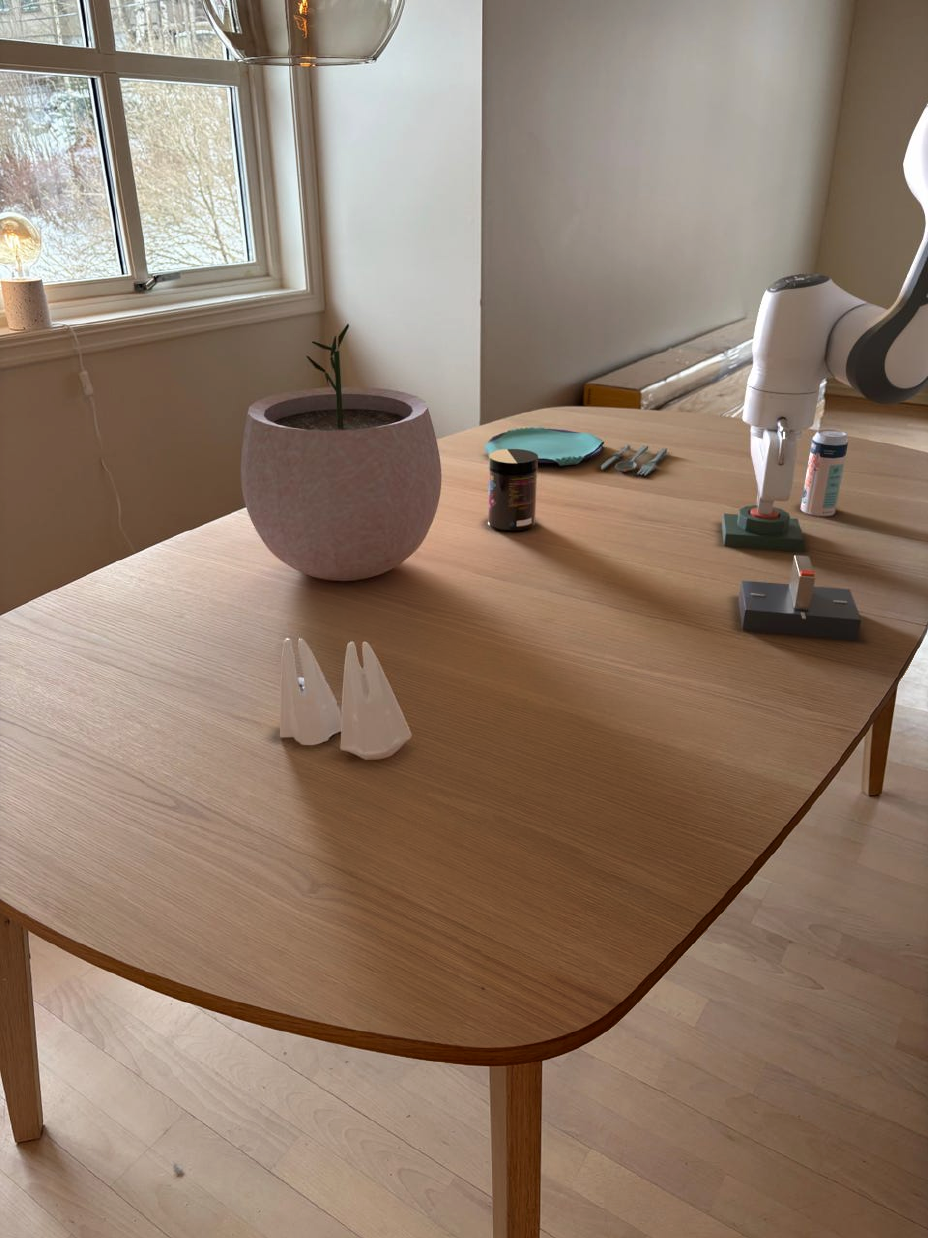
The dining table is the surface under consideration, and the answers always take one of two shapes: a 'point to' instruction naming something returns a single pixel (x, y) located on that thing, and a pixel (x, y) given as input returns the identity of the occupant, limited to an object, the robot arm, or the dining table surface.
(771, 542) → the button block
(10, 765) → the dining table surface
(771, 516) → the button
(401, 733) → the shaker set
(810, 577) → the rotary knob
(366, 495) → the plant pot
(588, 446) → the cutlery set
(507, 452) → the supplement container
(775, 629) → the panel
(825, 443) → the beer can
